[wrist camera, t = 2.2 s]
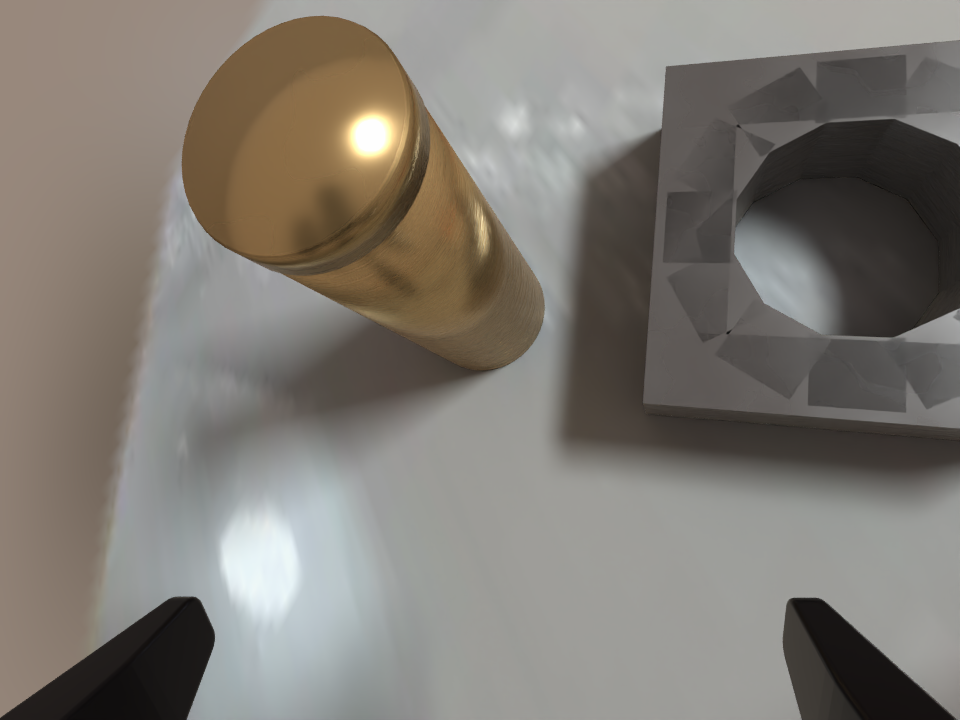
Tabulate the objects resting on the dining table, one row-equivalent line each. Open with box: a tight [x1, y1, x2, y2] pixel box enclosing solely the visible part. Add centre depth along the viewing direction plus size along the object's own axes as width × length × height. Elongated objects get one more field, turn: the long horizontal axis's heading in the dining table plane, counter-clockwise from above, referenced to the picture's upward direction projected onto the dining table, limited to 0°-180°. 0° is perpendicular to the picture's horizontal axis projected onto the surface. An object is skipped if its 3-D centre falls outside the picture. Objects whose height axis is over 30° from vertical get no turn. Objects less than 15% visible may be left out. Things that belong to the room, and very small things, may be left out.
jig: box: [643, 40, 960, 441], centre depth 18 cm, size 11×11×4 cm
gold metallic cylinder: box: [182, 16, 545, 370], centre depth 17 cm, size 5×5×13 cm
